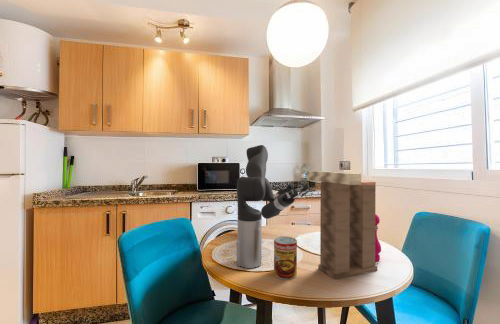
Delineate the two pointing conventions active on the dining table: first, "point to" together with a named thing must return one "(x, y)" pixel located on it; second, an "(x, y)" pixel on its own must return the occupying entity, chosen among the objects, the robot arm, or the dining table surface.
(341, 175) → the birch bar
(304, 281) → the dining table surface
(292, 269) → the canned food
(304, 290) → the dining table surface
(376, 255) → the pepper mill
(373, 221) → the walnut rack
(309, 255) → the dining table surface
